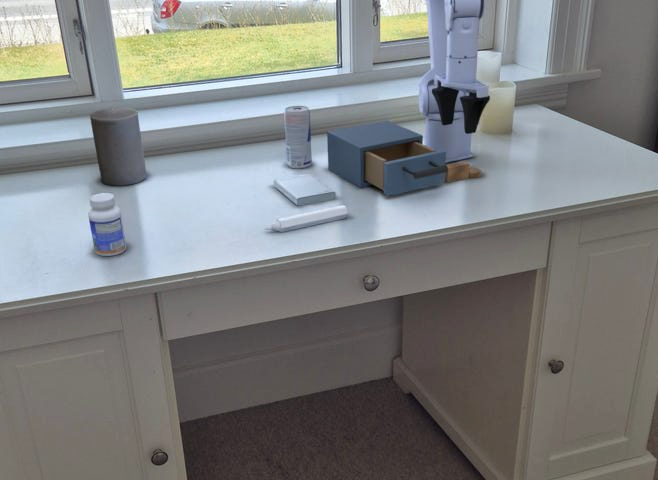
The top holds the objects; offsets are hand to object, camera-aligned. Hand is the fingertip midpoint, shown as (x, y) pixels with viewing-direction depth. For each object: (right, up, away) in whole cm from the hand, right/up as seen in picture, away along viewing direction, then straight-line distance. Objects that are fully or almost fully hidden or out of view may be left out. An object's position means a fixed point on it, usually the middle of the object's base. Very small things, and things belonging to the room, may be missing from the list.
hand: (458, 128), depth 162 cm
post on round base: (+1, -8, +6) cm, 11 cm away
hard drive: (-30, -12, +2) cm, 33 cm away
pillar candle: (-68, -7, +14) cm, 70 cm away
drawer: (-10, -10, +2) cm, 15 cm away
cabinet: (-16, -6, +11) cm, 20 cm away
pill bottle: (-63, -26, -19) cm, 71 cm away
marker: (-30, -21, -12) cm, 39 cm away
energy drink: (-32, -3, +17) cm, 36 cm away
